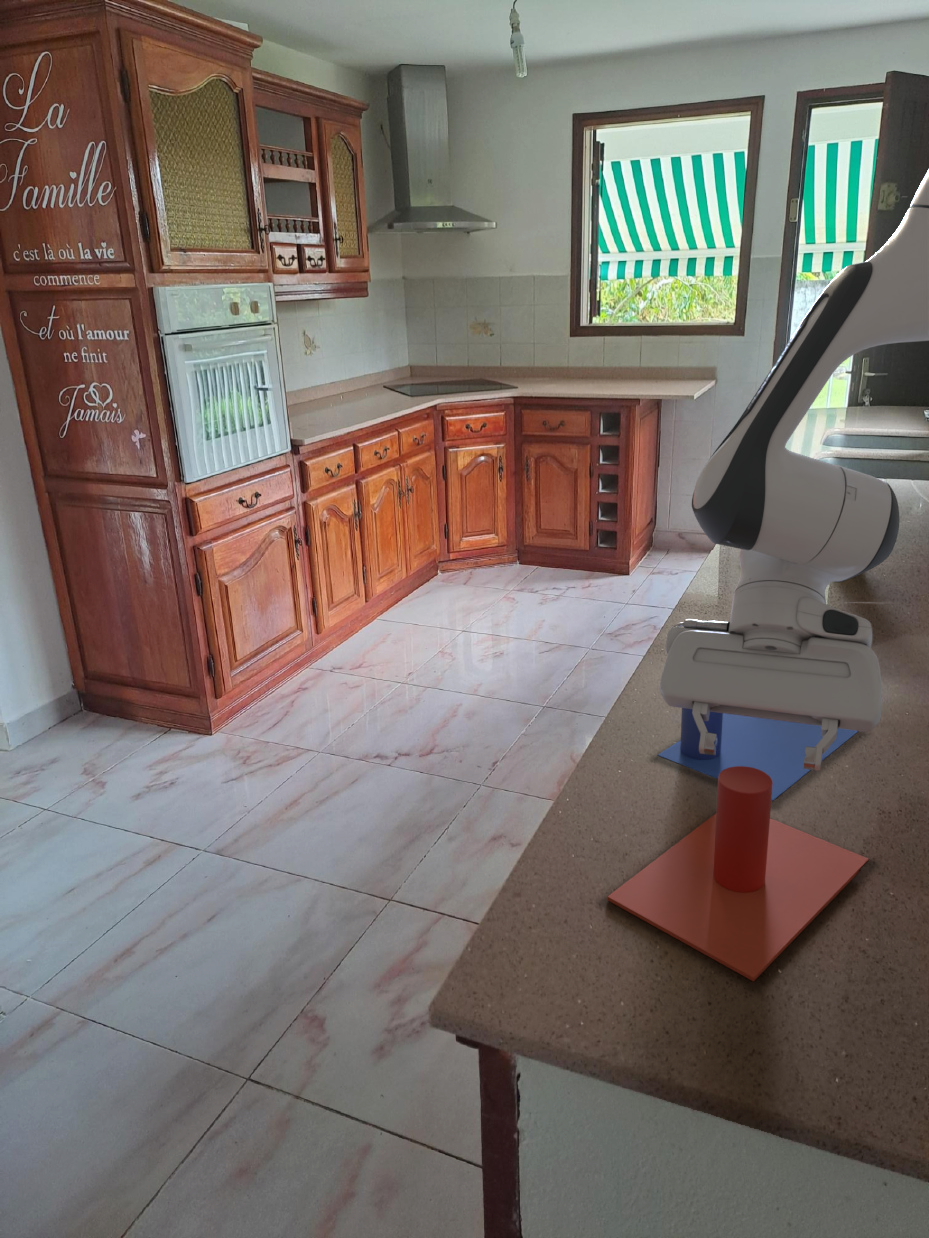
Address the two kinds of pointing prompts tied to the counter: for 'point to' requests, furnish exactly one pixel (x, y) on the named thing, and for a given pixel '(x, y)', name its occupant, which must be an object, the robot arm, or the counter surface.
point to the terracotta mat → (739, 895)
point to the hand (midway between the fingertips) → (758, 760)
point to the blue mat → (762, 749)
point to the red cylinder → (742, 828)
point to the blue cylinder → (692, 734)
